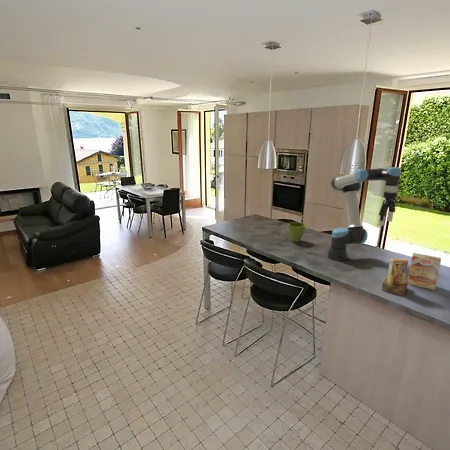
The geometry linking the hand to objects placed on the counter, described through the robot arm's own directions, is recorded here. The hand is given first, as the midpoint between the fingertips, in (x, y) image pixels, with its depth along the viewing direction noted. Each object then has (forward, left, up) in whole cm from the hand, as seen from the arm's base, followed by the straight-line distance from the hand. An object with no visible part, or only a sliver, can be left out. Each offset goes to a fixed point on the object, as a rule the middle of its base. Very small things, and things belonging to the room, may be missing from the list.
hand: (385, 223), depth 202 cm
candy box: (+17, -17, -32) cm, 40 cm away
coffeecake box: (+26, +2, -36) cm, 45 cm away
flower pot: (-78, +13, -36) cm, 87 cm away
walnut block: (+17, -17, -37) cm, 43 cm away
